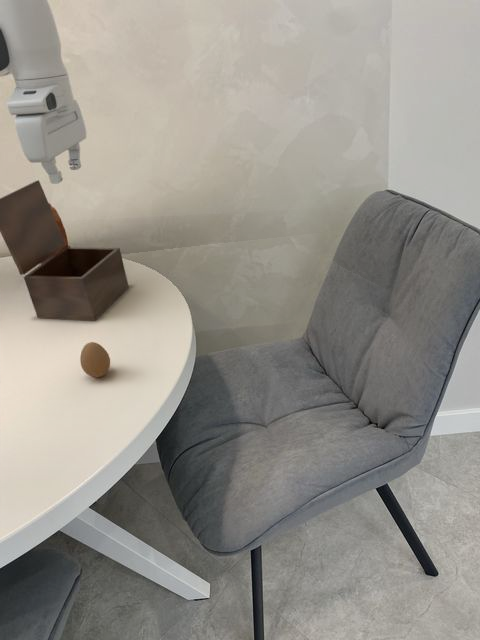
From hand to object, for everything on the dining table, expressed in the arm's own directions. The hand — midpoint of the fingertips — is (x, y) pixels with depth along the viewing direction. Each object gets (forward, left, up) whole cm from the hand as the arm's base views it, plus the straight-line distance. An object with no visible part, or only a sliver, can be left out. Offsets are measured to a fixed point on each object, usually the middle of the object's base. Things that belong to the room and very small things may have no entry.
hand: (67, 175), depth 103 cm
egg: (+12, -31, -24) cm, 41 cm away
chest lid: (-8, -4, -8) cm, 12 cm away
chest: (-1, -5, -24) cm, 24 cm away
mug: (-15, +13, -24) cm, 31 cm away
